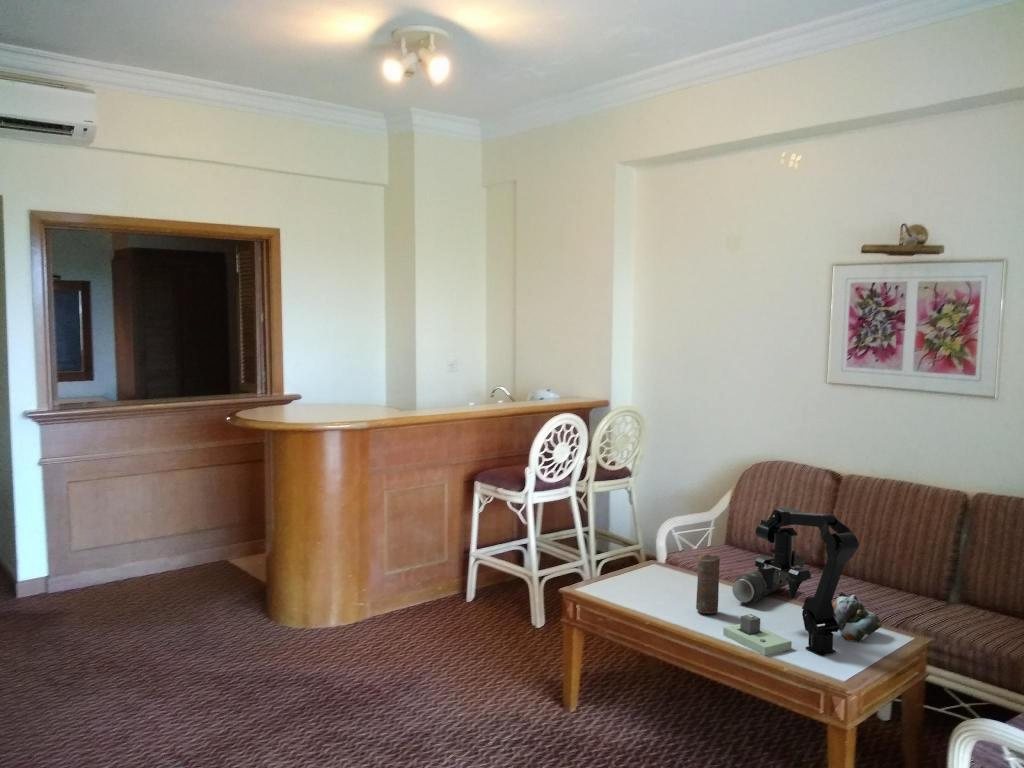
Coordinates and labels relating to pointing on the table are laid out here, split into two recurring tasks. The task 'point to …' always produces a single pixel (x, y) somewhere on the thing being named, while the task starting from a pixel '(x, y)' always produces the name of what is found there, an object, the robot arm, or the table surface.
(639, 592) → the table surface
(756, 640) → the socket box
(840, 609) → the lucky cat figurine
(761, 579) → the muzzle brake
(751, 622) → the block
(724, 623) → the table surface
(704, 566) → the brown cylinder
